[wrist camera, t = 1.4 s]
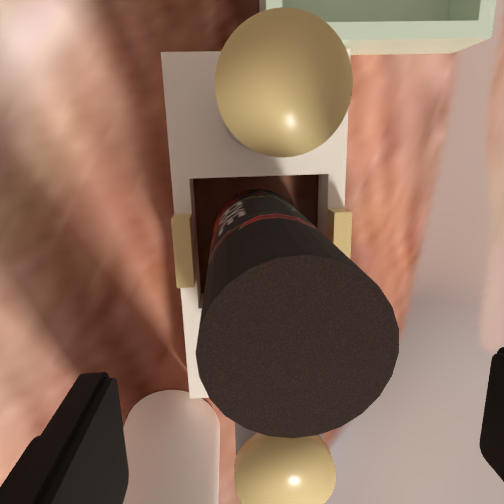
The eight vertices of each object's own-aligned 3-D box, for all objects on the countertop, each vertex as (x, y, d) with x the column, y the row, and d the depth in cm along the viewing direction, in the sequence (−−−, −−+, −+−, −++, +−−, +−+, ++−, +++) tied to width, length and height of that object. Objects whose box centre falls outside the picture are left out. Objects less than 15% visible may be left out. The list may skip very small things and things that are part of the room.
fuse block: (167, 61, 22) (102, -29, 11) (337, 59, 23) (456, -31, 11) (192, 377, 28) (168, 546, 16) (327, 368, 29) (399, 526, 17)
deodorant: (242, 171, 24) (267, 213, 10) (319, 219, 26) (440, 319, 11) (196, 249, 26) (157, 386, 11) (271, 291, 27) (324, 465, 12)
